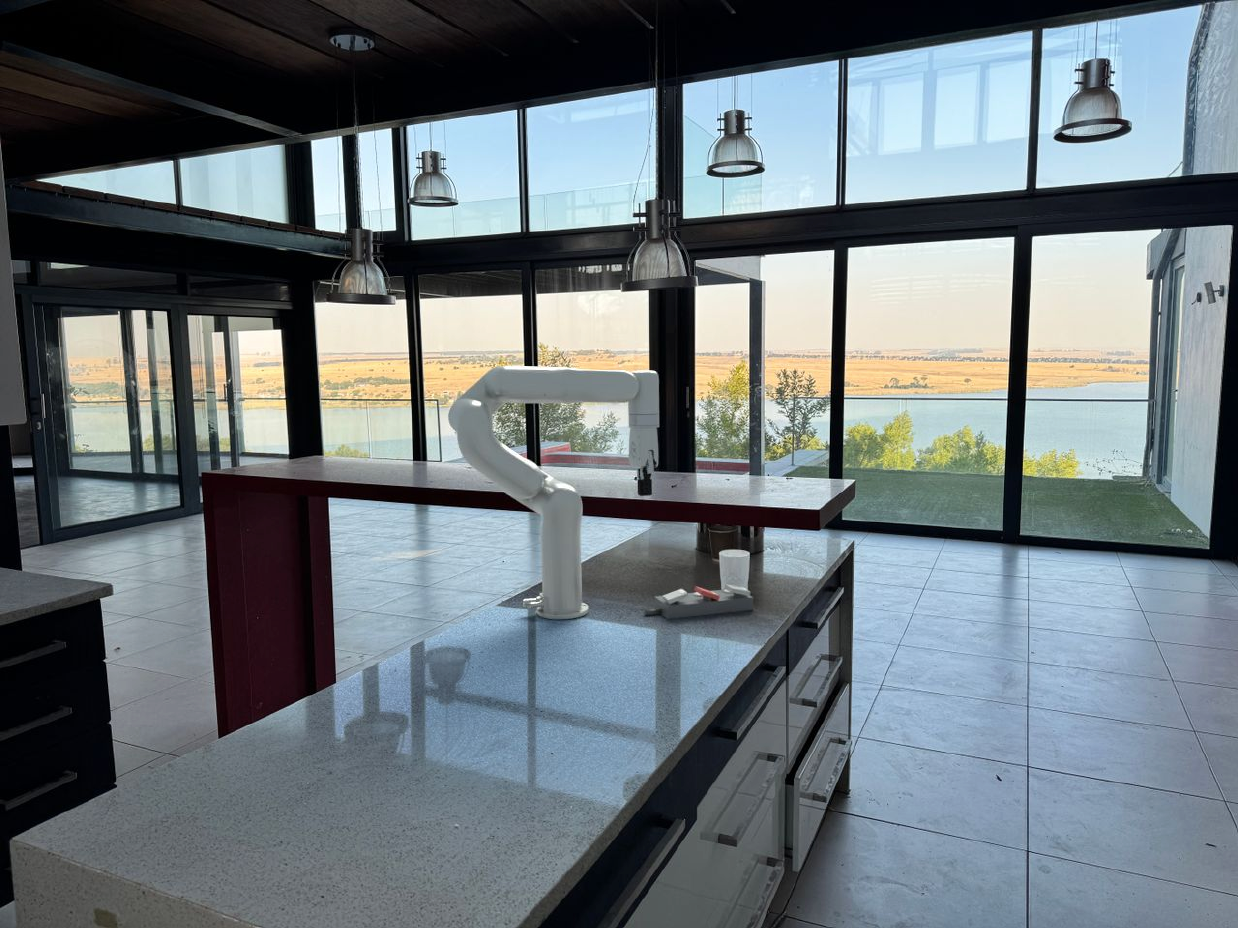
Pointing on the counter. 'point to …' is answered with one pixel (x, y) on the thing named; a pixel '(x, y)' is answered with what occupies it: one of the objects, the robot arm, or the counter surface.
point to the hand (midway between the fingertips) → (644, 495)
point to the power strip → (702, 605)
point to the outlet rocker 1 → (675, 596)
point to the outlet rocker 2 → (706, 593)
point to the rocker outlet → (737, 590)
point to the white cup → (734, 568)
